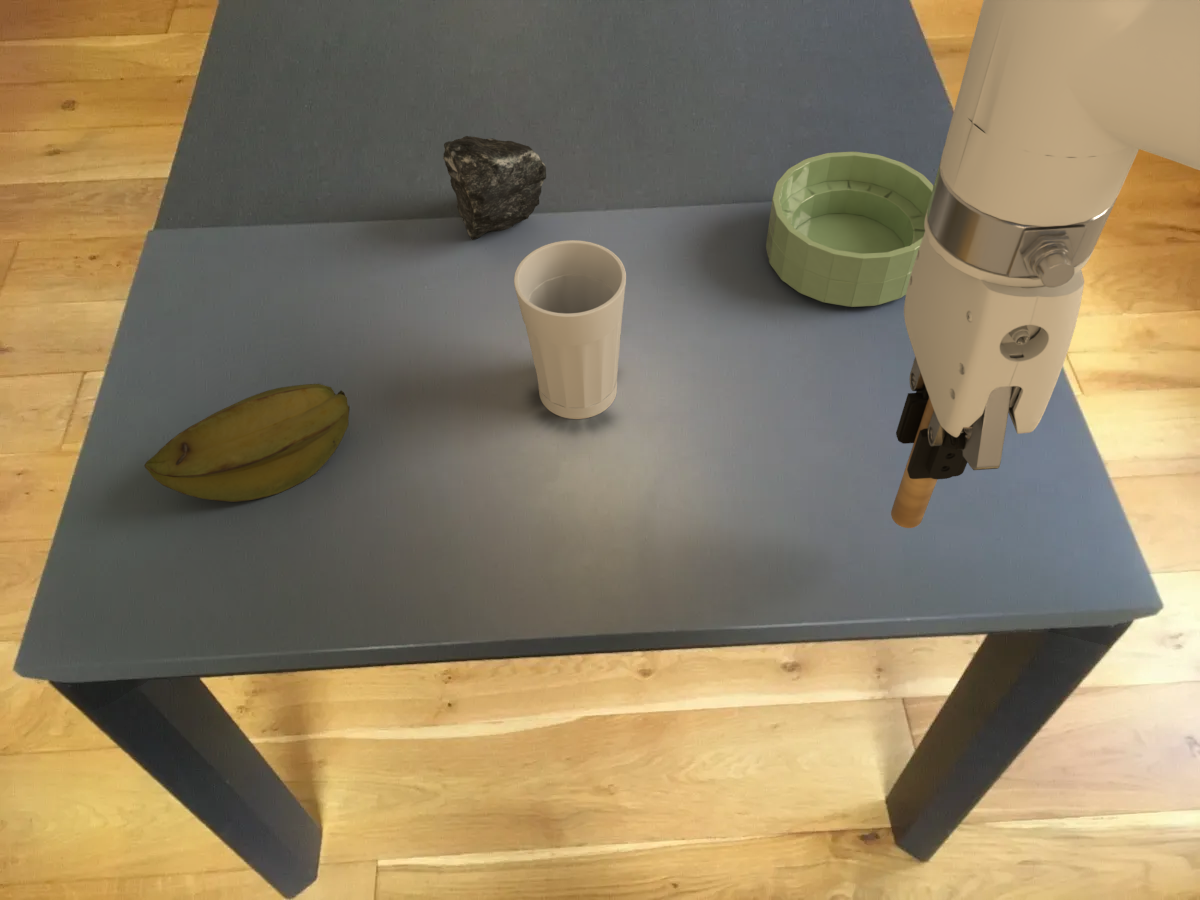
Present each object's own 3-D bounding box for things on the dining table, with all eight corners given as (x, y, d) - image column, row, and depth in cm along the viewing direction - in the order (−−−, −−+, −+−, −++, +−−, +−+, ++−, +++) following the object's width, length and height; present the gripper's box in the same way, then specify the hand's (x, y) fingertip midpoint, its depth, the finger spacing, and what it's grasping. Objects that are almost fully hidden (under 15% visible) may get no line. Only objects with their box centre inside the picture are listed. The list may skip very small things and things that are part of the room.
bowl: (931, 218, 90) (948, 163, 85) (921, 324, 82) (938, 269, 77) (779, 196, 93) (786, 142, 88) (753, 296, 84) (760, 242, 80)
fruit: (306, 540, 70) (280, 487, 65) (161, 506, 73) (124, 452, 67) (371, 422, 77) (351, 365, 72) (236, 394, 79) (207, 337, 74)
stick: (917, 502, 64) (962, 380, 55) (925, 527, 63) (972, 407, 54) (887, 504, 64) (927, 382, 55) (894, 529, 63) (936, 409, 54)
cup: (645, 376, 79) (647, 263, 70) (592, 441, 75) (586, 331, 66) (564, 340, 82) (554, 227, 72) (509, 401, 78) (491, 290, 68)
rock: (489, 262, 88) (475, 170, 80) (441, 225, 92) (423, 133, 84) (554, 223, 91) (547, 130, 83) (506, 189, 95) (494, 96, 87)
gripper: (1170, 325, 39) (1032, 564, 54) (1041, 103, 49) (954, 356, 64) (984, 337, 39) (896, 573, 54) (892, 113, 49) (839, 363, 64)
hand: (928, 454), depth 59 cm, fingers closed on stick, 2 cm apart
